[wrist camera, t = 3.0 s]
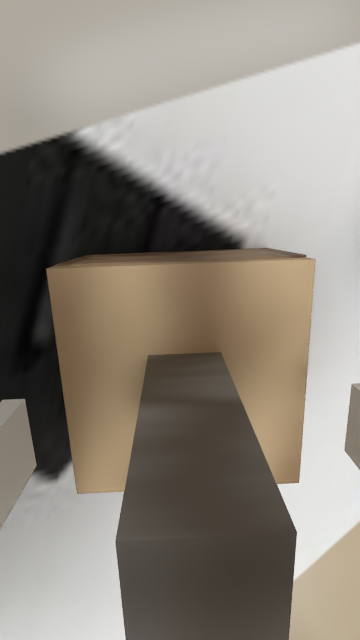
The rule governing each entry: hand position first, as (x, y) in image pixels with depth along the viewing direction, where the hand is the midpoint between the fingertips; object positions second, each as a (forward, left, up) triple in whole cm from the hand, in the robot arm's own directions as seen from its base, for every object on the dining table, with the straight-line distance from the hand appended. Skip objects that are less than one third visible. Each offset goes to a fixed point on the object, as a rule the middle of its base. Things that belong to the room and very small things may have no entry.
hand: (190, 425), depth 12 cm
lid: (0, 0, -4) cm, 4 cm away
